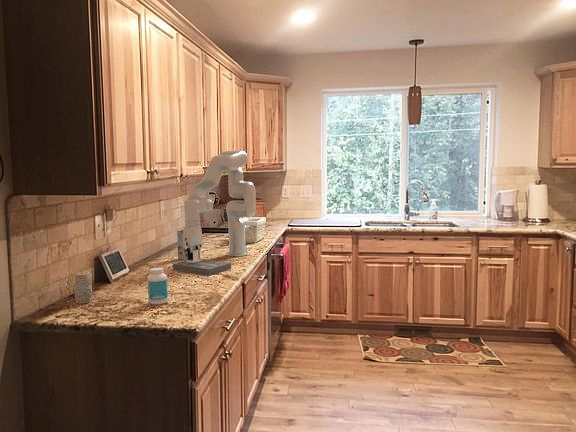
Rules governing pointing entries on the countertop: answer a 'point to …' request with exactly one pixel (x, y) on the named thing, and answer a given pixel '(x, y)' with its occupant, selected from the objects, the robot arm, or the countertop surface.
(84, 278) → the grey cylinder
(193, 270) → the console
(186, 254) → the coffee box
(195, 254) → the fader
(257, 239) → the storage basket
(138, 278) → the countertop surface
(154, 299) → the pill bottle
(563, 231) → the countertop surface
